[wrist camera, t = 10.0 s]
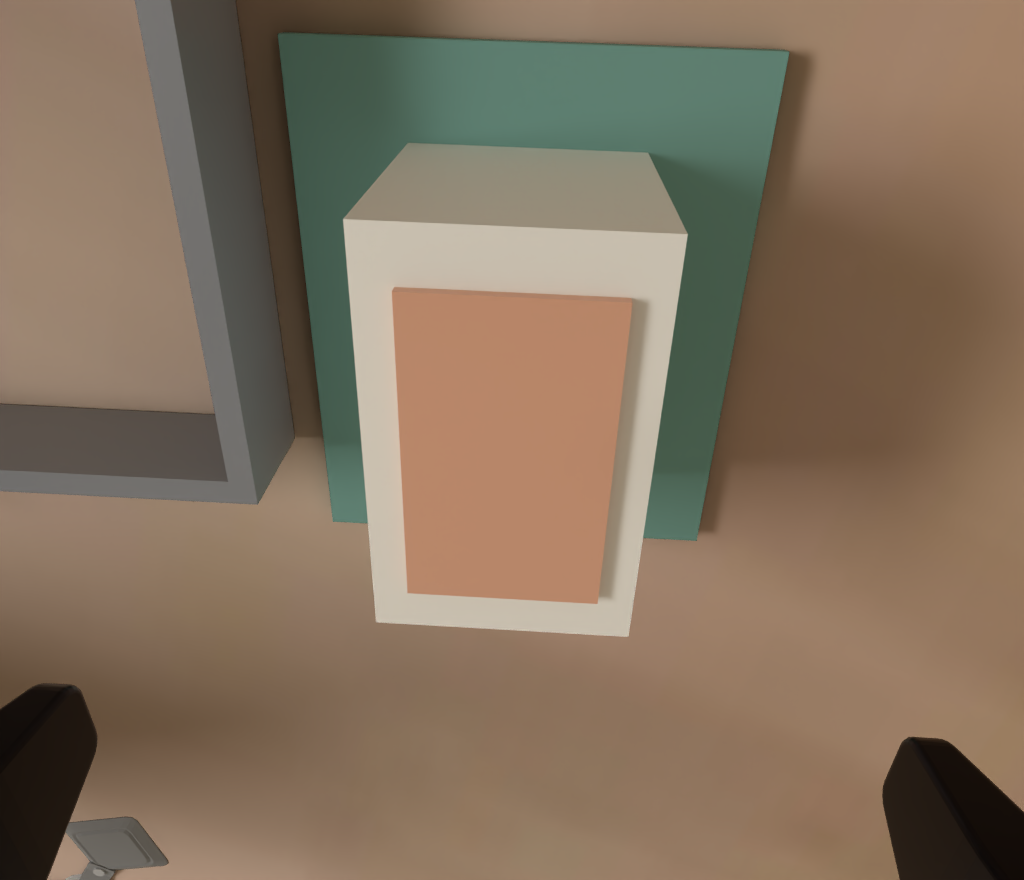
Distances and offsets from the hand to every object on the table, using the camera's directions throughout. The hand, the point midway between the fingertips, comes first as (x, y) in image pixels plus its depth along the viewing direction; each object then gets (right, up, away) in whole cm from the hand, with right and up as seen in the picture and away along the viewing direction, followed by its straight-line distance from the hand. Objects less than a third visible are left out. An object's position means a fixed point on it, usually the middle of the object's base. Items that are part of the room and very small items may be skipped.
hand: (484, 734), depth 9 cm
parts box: (0, +6, +10) cm, 11 cm away
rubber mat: (0, +6, +10) cm, 12 cm away
